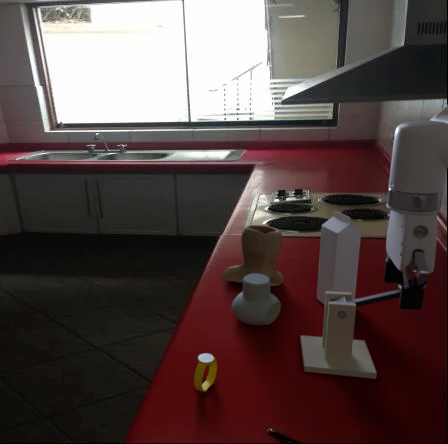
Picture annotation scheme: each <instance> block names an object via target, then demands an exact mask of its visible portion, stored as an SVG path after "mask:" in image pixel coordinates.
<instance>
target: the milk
mask: <svg viewBox="0 0 448 444" xmlns="http://www.w3.org/2000/svg"><path fill="white" fill-rule="evenodd" d="M351 223H352V218H351V217H350V216H348V215H346V214H344V213H342V212H339V211H337V210H334V211H333V215H332V217H331V218H329V219H328V220H327V221H325V222H324V223H323V224H321V227H320V228H321V229H320V242H319V243H320V244H319V258H318V259H319V260H318V275H317V290H316V300H318V301H319V302H320V303H322V304H323V305H324V306H325V294H326V291H335V292H351V294H352V300H354V299H356V290H357V281H358V270H359V260H360V249H361V238H362V229H361V228H359V227H357V226H355V225H353V224H351Z"/></svg>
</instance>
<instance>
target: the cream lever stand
mask: <svg viewBox="0 0 448 444" xmlns="http://www.w3.org/2000/svg"><path fill="white" fill-rule="evenodd" d="M341 297H345V298H346V301H350V300H352V294H351V292H335V291H326V294H325V305H324V307H323V308H324V309H323V324H322V336H315V335H300V337H299V338H300V340H299V341H300V349H301V357H302V364H303V371H304V372H305V373H316V374H323V375H324V374H325V375H335V376H344V377H354V378H362V379H363V378H365V379H373V380H374V379H375V380H376V379H377V375H378V373H377V370H376V367H375V365H374V362H373V359H372V356H371V354H370V352H369V349H368V346H367V343H366V341H365V340H361V339H354V331H355V323H356V311H357V307H356V304H355V303H347V302H331V301H329V300H332V299H336V298H341Z"/></svg>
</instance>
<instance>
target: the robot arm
mask: <svg viewBox="0 0 448 444" xmlns="http://www.w3.org/2000/svg"><path fill="white" fill-rule="evenodd" d="M447 169H448V104H447V105H445V106H444V107H443V108H442V109H440V110H439V111H438V112H437V113H435V115H433V116H432V117H431V118H430V119H429V120H411V121H404V122H402V123H400V124H398V126H397V127H396V128H395V131H394V135H393V144H392V154H391V162H390V170H389V171H390V172H389V180H388V190H387V199H386V208H387V209H388V210H390V212H389V219H388V225H387V231H386V240H385V241H386V242H385V251H386V255H385V263H384V271H383V272H384V273H383V281H384V282H385V283H386V284H387V283H390V284H398V283H399V282H404V286H401V293H400V298H399V302H398V307H399V309H401V310H407V311H408V310H409V311H410V310H411V311H421V310H422V309H423V304H424V303H423V302H424V296H425V291H426V288H427V284H428V278H429V276H430V274H432V273H433V272H434V271H435V263H436V253H437V243H438V213H440V212H441V207H442V201H443V195H444V190H445V189H444V187H445V182H446V176H447V175H446V174H447ZM410 275H415V276H412V277H410Z"/></svg>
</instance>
